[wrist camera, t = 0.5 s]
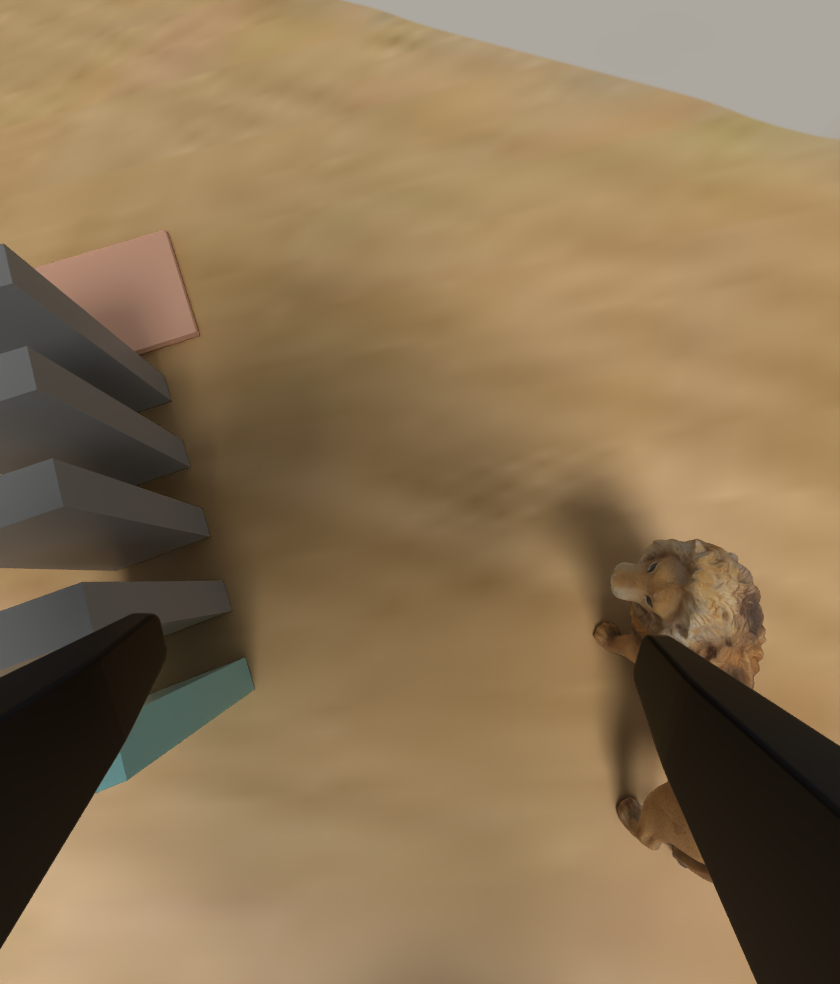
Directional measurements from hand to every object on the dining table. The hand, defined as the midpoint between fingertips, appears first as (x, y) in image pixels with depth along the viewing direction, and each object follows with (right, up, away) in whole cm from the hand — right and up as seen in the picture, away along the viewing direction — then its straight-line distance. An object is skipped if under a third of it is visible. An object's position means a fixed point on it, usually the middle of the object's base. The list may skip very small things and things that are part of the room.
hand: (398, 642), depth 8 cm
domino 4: (-12, -3, +14) cm, 19 cm away
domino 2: (-15, +4, +16) cm, 22 cm away
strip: (-18, +13, +17) cm, 28 cm away
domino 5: (-10, -7, +13) cm, 18 cm away
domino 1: (-16, +8, +16) cm, 24 cm away
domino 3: (-13, 0, +15) cm, 20 cm away
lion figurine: (+11, -7, +14) cm, 19 cm away
